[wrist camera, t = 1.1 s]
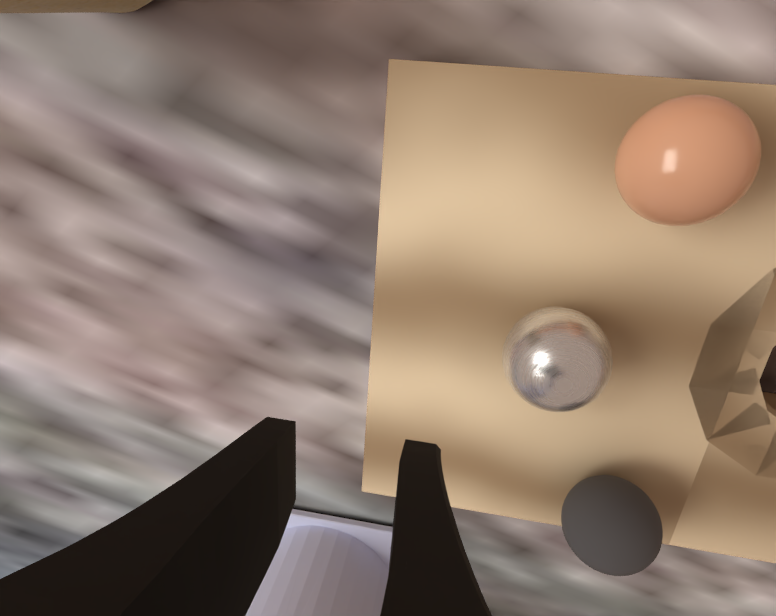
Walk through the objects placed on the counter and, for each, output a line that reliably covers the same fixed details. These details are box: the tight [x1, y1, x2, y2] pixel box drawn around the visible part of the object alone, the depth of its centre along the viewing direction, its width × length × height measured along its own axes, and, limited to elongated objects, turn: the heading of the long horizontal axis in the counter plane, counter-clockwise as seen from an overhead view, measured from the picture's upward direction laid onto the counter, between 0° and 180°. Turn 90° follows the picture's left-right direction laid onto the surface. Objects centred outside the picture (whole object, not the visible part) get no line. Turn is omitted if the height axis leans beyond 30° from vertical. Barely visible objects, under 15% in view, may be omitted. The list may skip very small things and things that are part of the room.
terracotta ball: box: [614, 95, 761, 226], centre depth 13 cm, size 3×3×3 cm
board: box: [362, 59, 776, 563], centre depth 18 cm, size 16×20×2 cm
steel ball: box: [502, 307, 613, 412], centre depth 15 cm, size 3×3×3 cm
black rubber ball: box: [561, 475, 663, 576], centre depth 17 cm, size 3×3×3 cm
